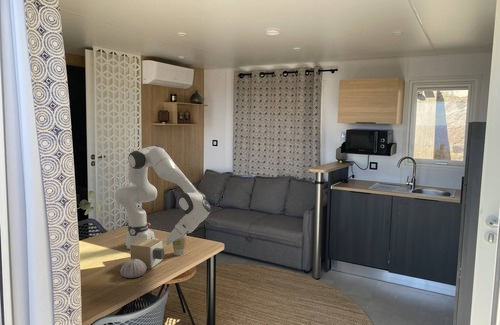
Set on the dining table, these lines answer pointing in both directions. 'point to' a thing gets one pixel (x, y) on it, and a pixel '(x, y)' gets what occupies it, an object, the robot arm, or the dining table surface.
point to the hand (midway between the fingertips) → (171, 240)
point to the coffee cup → (179, 245)
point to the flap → (156, 254)
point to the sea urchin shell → (133, 268)
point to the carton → (143, 250)
